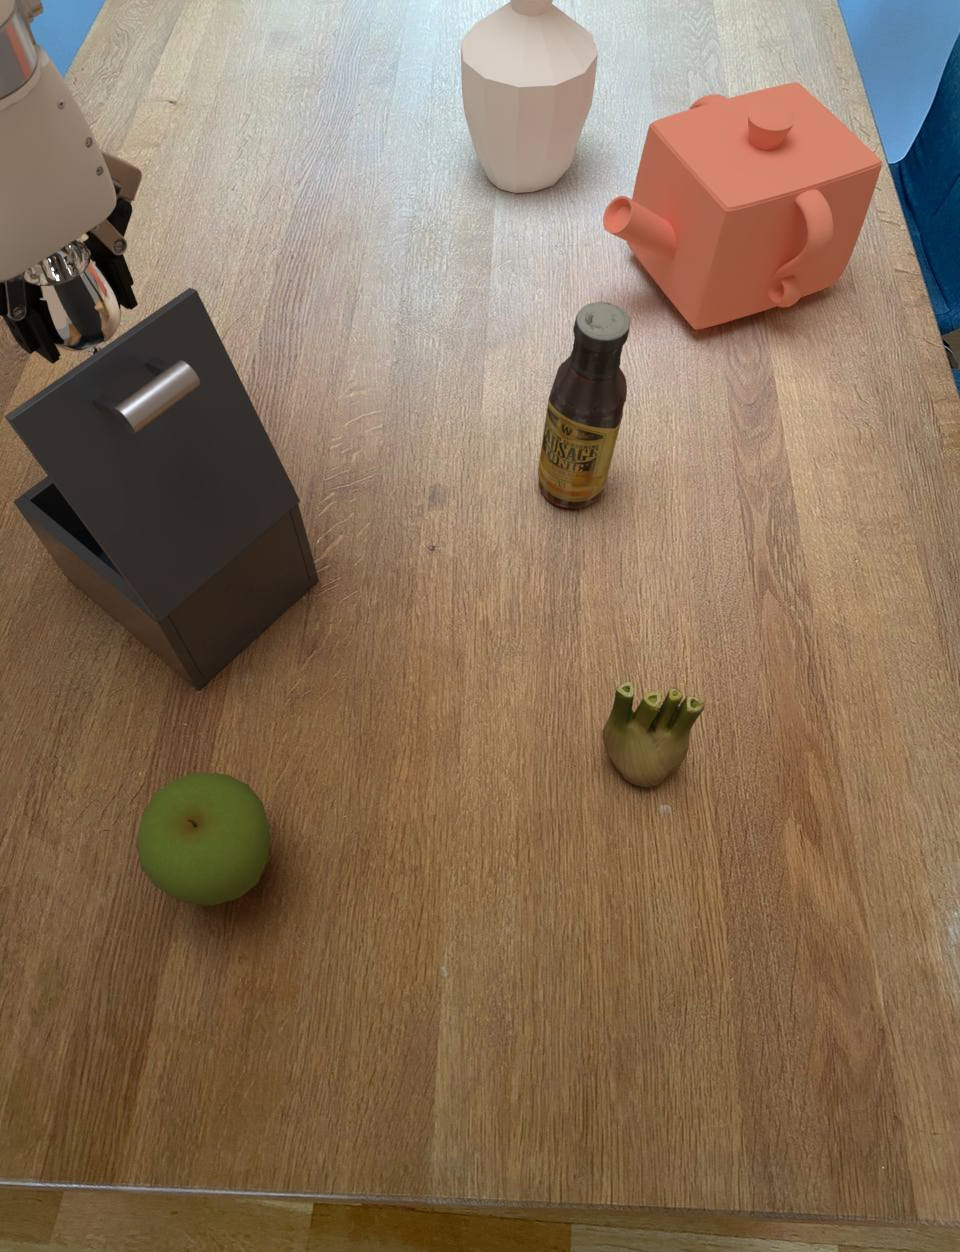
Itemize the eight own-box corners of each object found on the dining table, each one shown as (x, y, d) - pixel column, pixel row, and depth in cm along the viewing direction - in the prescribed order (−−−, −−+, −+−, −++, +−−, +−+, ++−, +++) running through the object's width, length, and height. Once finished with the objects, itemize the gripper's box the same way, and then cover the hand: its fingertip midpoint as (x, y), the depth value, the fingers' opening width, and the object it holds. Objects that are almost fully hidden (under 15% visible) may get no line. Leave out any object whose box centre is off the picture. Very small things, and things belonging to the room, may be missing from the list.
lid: (3, 416, 53) (46, 441, 50) (189, 287, 58) (238, 303, 55) (153, 618, 66) (194, 647, 63) (294, 497, 71) (338, 519, 68)
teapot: (646, 393, 92) (681, 236, 76) (544, 252, 102) (557, 88, 86) (859, 320, 97) (931, 159, 81) (741, 192, 107) (786, 28, 92)
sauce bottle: (523, 493, 86) (535, 323, 68) (560, 449, 88) (581, 275, 71) (585, 526, 84) (613, 361, 67) (620, 481, 86) (656, 310, 69)
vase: (556, 125, 113) (574, -121, 92) (604, 196, 107) (636, -51, 85) (444, 150, 111) (436, -96, 89) (487, 224, 104) (489, -23, 83)
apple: (301, 905, 67) (271, 860, 57) (184, 946, 66) (132, 907, 56) (273, 796, 71) (240, 735, 61) (162, 832, 70) (109, 776, 60)
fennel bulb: (589, 759, 73) (608, 692, 62) (627, 715, 75) (651, 642, 64) (651, 806, 71) (680, 745, 60) (688, 760, 73) (723, 692, 62)
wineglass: (108, 438, 68) (41, 306, 57) (60, 397, 69) (-13, 262, 59) (171, 394, 70) (118, 259, 59) (123, 356, 72) (64, 218, 61)
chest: (67, 578, 81) (12, 501, 71) (188, 481, 86) (153, 397, 77) (198, 691, 76) (158, 623, 66) (319, 580, 81) (298, 503, 71)
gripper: (46, -40, 53) (144, 237, 68) (-241, 99, 46) (-59, 370, 62) (134, 7, 50) (215, 282, 66) (-155, 161, 44) (11, 426, 59)
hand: (81, 323), depth 64 cm, fingers closed on wineglass, 5 cm apart
